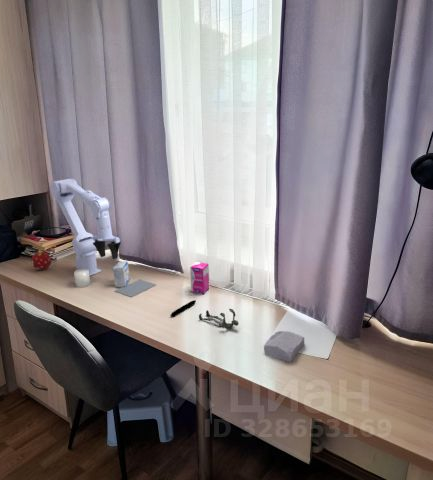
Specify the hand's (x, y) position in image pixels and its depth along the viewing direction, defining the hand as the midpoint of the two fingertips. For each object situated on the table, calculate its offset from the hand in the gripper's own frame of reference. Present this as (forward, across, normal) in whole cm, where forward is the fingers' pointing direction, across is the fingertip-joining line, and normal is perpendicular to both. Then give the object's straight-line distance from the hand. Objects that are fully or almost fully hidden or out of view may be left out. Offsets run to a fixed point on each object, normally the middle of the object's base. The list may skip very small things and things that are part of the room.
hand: (109, 257), depth 171 cm
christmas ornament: (+8, -39, -8) cm, 40 cm away
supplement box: (+14, +39, +11) cm, 43 cm away
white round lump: (+10, -8, -10) cm, 16 cm away
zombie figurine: (+16, +60, -8) cm, 63 cm away
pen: (+15, +43, -6) cm, 46 cm away
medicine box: (+11, +6, 0) cm, 13 cm away
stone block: (+18, +84, -10) cm, 87 cm away
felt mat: (+12, +14, -1) cm, 19 cm away
